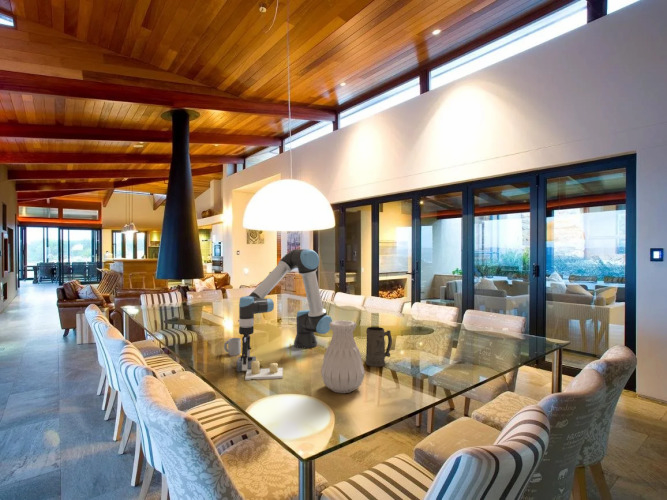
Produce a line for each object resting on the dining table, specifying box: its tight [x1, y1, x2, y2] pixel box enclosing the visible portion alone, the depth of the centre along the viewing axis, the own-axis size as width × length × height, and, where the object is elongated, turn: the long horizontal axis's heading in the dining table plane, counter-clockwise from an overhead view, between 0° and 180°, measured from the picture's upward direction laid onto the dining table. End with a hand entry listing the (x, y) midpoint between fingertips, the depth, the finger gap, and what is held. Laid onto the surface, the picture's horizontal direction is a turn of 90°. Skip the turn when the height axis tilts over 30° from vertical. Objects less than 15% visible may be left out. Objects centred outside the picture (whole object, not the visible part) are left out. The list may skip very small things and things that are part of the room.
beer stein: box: [365, 326, 393, 368], centre depth 199 cm, size 15×11×20 cm
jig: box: [244, 360, 284, 381], centre depth 180 cm, size 18×12×7 cm, turn 98°
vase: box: [320, 319, 366, 394], centre depth 163 cm, size 20×20×30 cm
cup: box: [223, 337, 242, 357], centre depth 216 cm, size 7×10×9 cm
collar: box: [236, 355, 257, 373], centre depth 190 cm, size 9×9×5 cm
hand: (245, 366), depth 190 cm, fingers open, 13 cm apart
